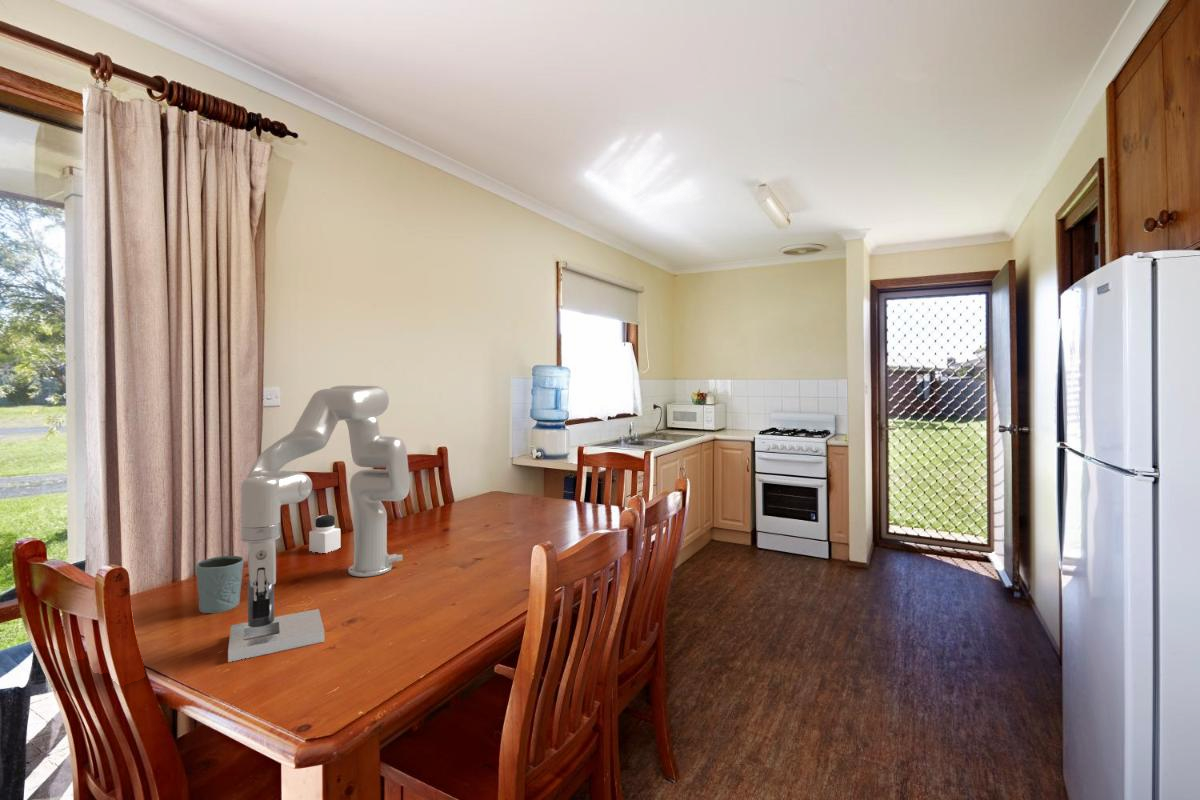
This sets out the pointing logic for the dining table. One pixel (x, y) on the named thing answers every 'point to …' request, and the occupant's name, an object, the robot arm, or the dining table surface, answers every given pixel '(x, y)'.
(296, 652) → the dining table surface
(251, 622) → the dark grey peg block
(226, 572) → the teal embossed planter pot
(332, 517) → the medicine bottle
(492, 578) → the dining table surface
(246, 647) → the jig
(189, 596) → the dining table surface
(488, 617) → the dining table surface
